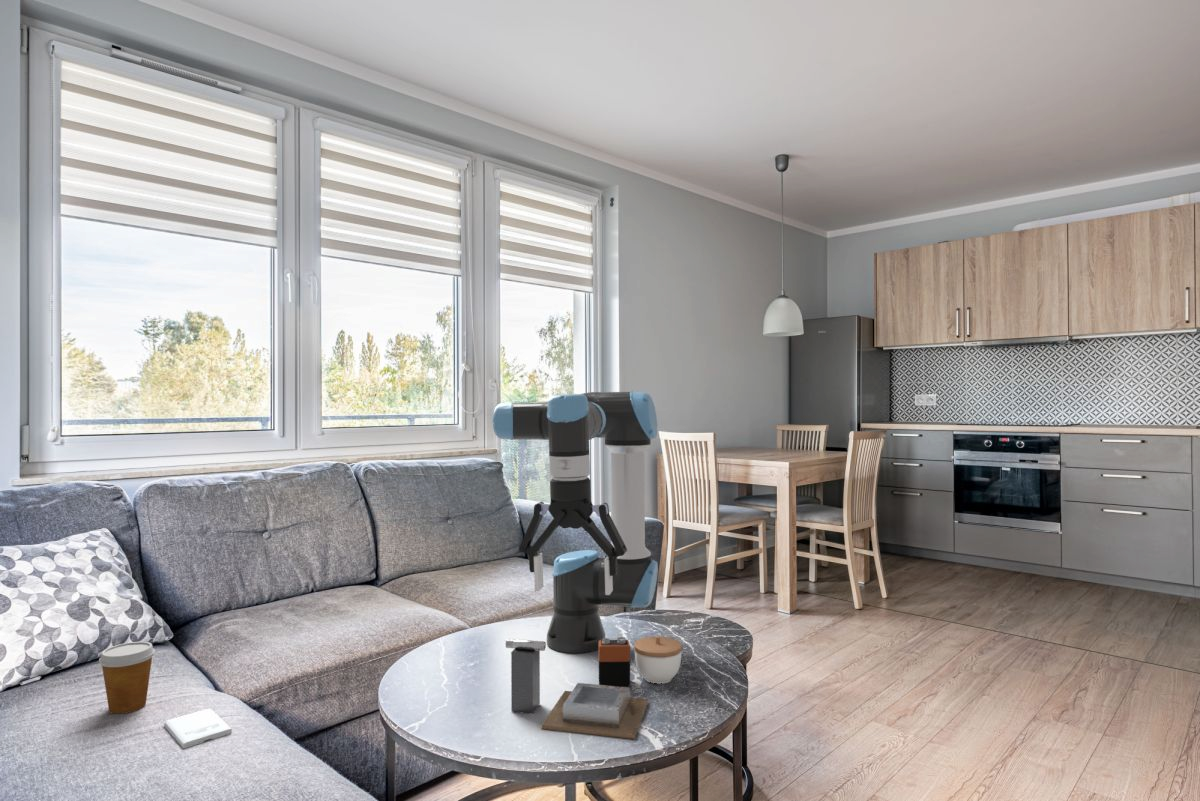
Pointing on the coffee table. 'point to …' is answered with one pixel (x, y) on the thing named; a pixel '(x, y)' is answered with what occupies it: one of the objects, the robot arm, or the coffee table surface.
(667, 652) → the lidded jar
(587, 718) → the chuck block
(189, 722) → the external hard drive
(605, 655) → the battery
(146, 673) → the disposable coffee cup
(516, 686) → the chuck key
